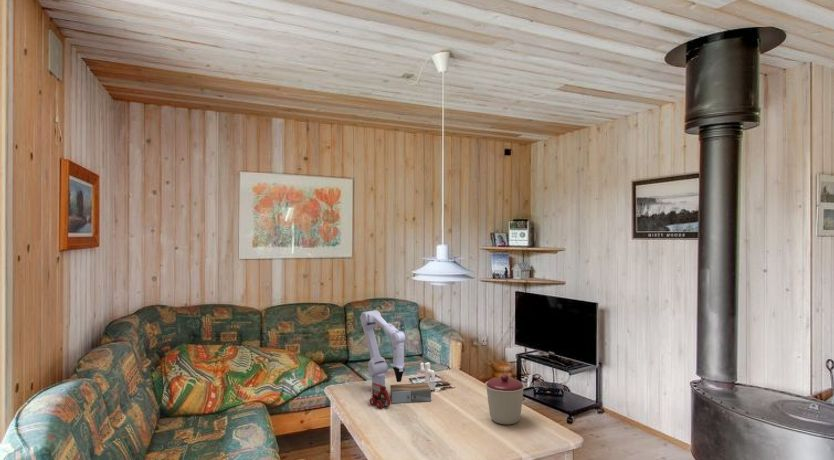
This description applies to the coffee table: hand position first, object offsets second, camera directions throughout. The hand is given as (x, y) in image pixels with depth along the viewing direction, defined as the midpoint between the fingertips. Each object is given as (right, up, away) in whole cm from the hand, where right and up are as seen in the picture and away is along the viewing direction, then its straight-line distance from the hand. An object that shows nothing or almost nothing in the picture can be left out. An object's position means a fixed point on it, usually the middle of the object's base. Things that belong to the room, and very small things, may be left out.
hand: (398, 381), depth 242 cm
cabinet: (+6, -9, +1) cm, 11 cm away
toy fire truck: (-9, -10, -8) cm, 16 cm away
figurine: (+15, -10, +14) cm, 23 cm away
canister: (+50, -9, -28) cm, 58 cm away
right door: (+2, -9, -5) cm, 11 cm away
